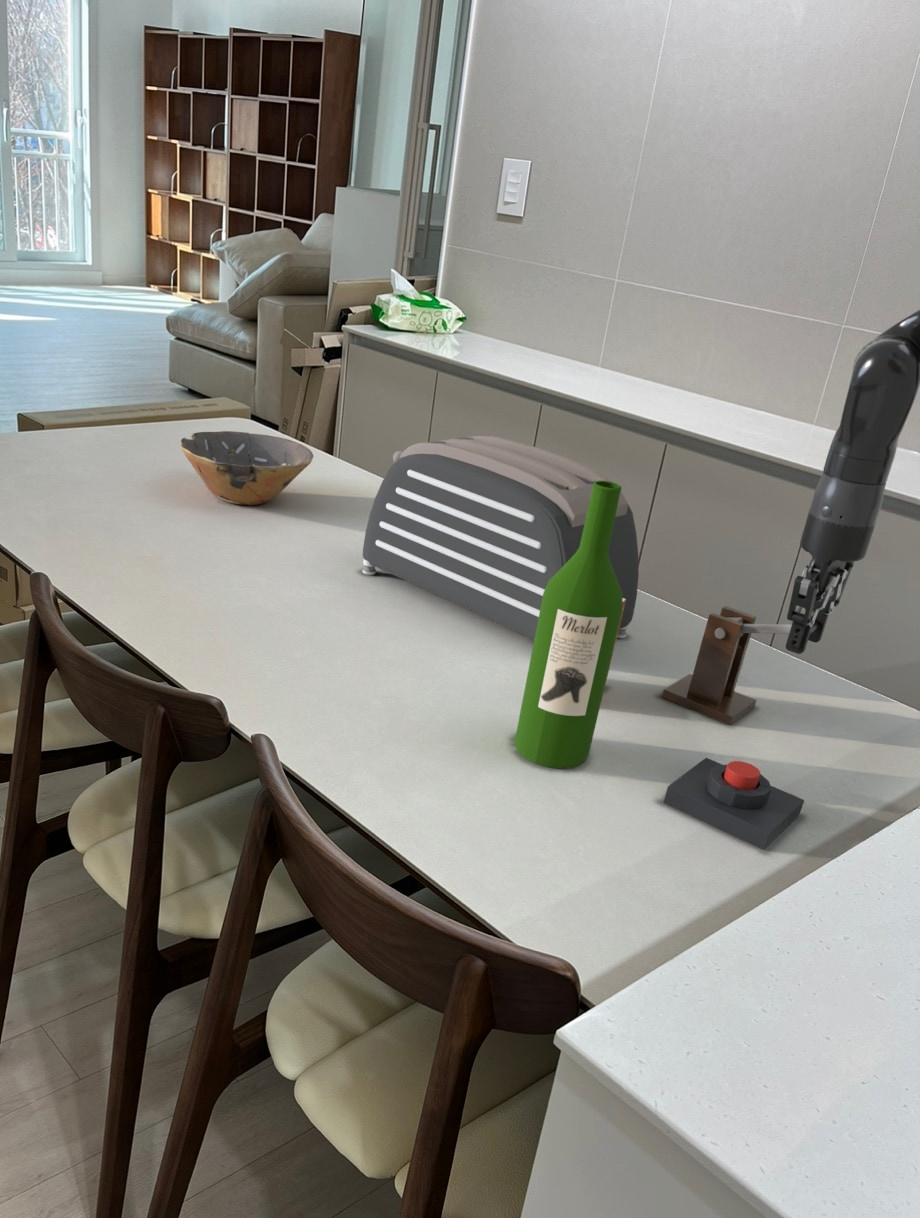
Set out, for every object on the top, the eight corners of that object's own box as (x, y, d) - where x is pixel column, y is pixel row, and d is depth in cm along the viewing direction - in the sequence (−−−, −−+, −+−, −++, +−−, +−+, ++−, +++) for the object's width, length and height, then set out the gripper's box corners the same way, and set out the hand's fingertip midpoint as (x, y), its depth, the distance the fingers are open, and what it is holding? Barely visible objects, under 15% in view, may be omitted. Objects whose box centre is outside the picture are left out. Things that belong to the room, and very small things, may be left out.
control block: (798, 816, 120) (809, 786, 118) (764, 850, 113) (775, 819, 111) (701, 773, 126) (710, 744, 124) (663, 802, 119) (671, 772, 117)
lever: (820, 634, 134) (819, 615, 133) (805, 643, 130) (805, 624, 129) (727, 632, 142) (726, 614, 141) (711, 641, 138) (710, 623, 137)
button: (761, 783, 118) (765, 770, 117) (748, 794, 115) (752, 781, 115) (731, 770, 120) (735, 757, 119) (717, 781, 117) (722, 767, 117)
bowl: (306, 526, 191) (310, 471, 186) (168, 512, 190) (169, 457, 185) (312, 486, 213) (316, 437, 209) (188, 474, 212) (190, 424, 207)
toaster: (421, 546, 188) (440, 410, 177) (632, 636, 161) (669, 483, 150) (342, 564, 175) (356, 419, 164) (556, 665, 149) (591, 500, 138)
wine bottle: (516, 764, 123) (570, 491, 108) (511, 727, 131) (561, 468, 116) (592, 773, 123) (657, 501, 108) (583, 736, 131) (642, 478, 116)
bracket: (754, 707, 144) (781, 621, 138) (730, 725, 138) (757, 635, 132) (687, 681, 149) (710, 596, 143) (661, 697, 144) (684, 609, 138)
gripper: (854, 533, 118) (811, 671, 126) (893, 512, 128) (851, 641, 136) (789, 516, 122) (751, 650, 130) (832, 497, 132) (794, 622, 140)
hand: (802, 645), depth 133 cm, fingers closed on lever, 5 cm apart
